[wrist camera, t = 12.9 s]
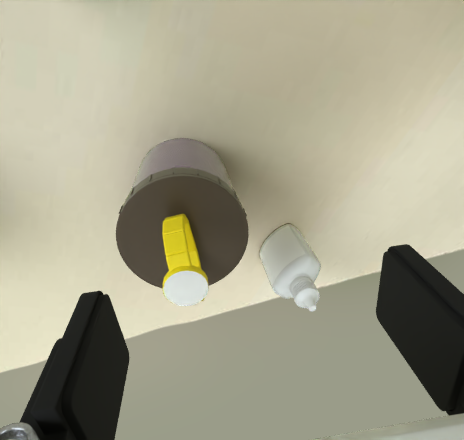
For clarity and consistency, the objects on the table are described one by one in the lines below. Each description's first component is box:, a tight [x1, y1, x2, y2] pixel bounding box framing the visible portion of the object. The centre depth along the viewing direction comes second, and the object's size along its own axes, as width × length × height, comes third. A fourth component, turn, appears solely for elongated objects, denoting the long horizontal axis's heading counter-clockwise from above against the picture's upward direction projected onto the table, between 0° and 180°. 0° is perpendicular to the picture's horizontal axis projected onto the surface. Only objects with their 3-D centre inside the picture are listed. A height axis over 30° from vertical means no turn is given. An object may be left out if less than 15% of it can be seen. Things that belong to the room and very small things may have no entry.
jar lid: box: [116, 167, 248, 288], centre depth 26 cm, size 10×10×2 cm
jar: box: [131, 138, 234, 191], centre depth 31 cm, size 10×10×12 cm
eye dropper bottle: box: [260, 224, 321, 311], centre depth 36 cm, size 4×6×12 cm
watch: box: [163, 214, 209, 306], centre depth 23 cm, size 6×3×6 cm, turn 11°
